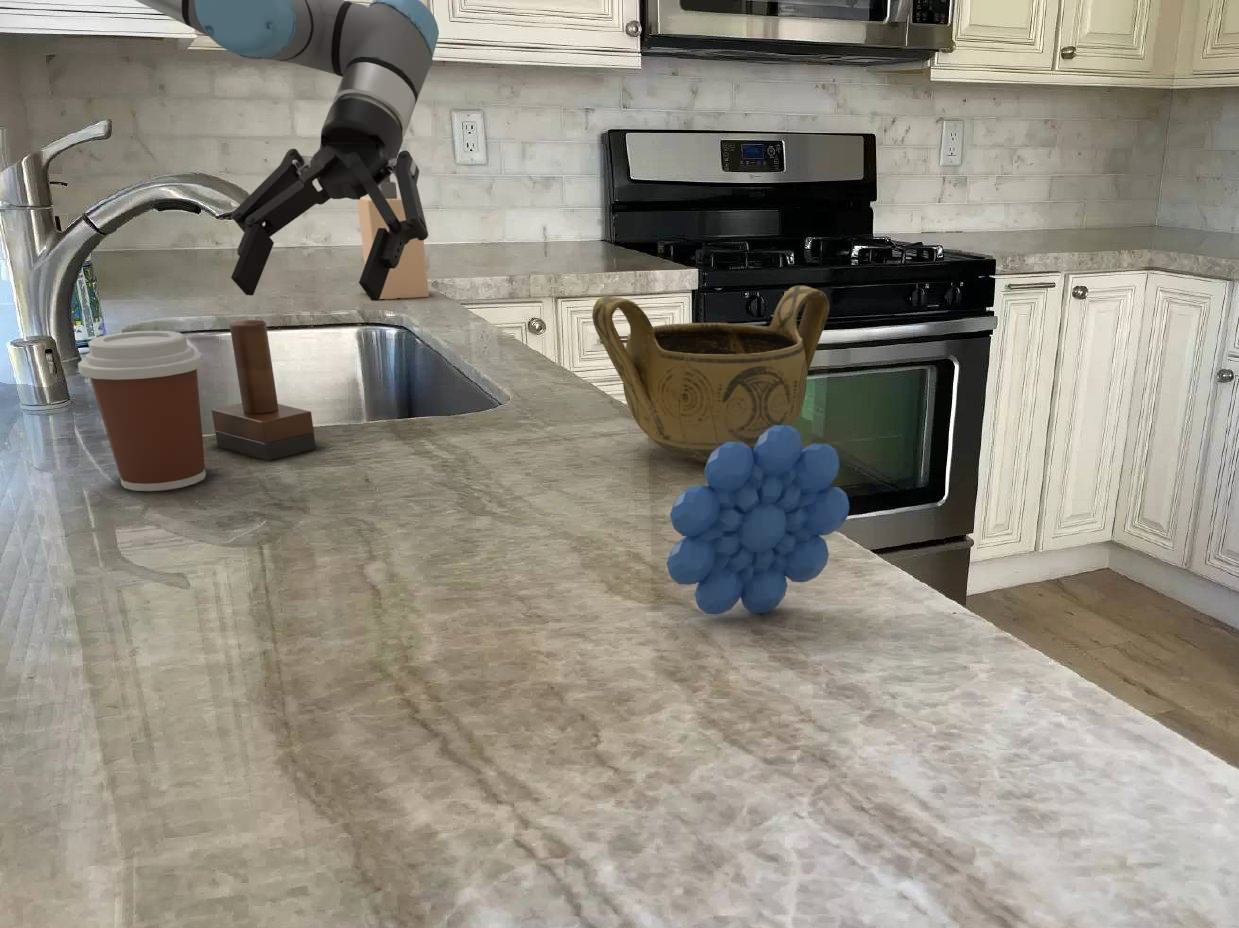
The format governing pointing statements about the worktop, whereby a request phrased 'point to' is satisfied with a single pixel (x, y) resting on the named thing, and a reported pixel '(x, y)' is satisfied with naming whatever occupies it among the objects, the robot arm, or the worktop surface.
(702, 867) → the worktop surface
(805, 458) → the blue flower shape
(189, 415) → the coffee cup
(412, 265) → the soap dispenser
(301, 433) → the rubber stamp
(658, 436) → the ceramic bowl
